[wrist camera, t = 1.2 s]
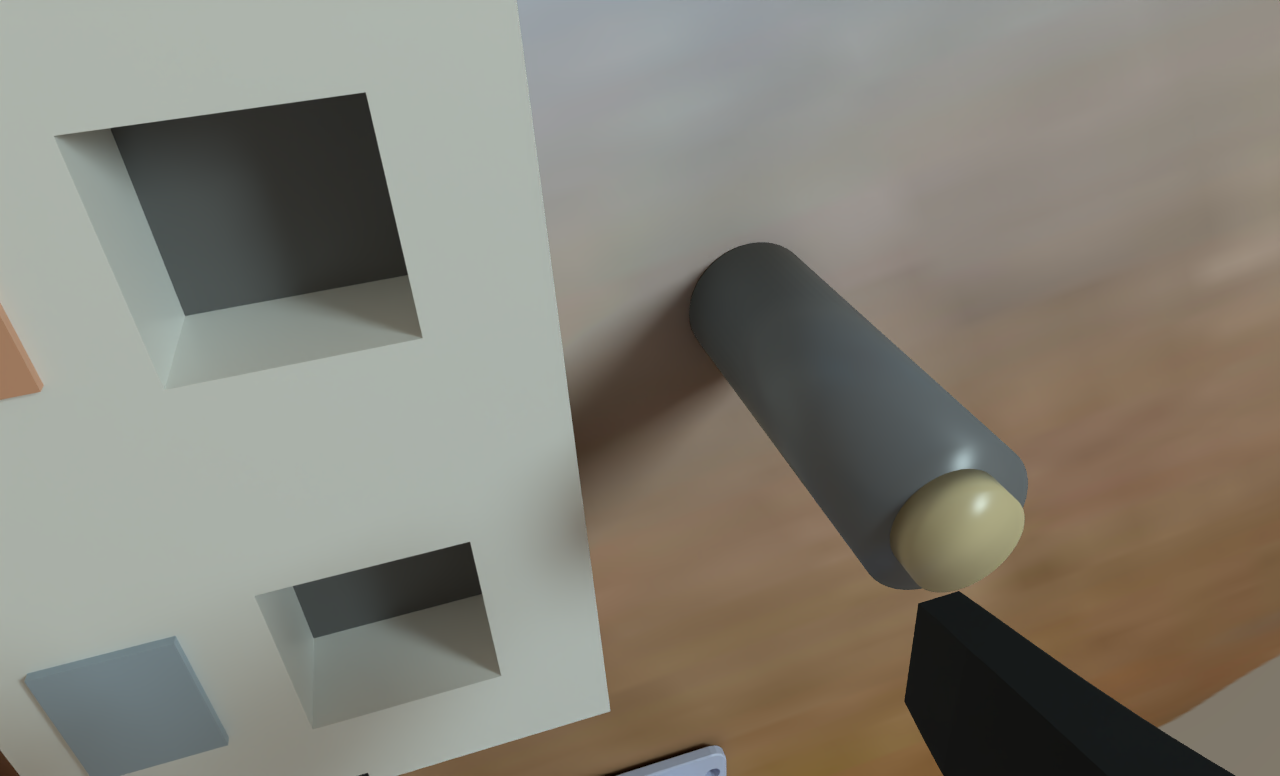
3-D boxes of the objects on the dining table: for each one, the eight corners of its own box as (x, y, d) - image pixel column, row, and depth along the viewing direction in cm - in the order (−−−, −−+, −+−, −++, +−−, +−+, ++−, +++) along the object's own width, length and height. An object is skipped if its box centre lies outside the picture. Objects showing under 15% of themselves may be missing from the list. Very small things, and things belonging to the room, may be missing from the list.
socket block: (581, 623, 25) (612, 717, 22) (115, 753, 22) (89, 876, 19) (471, -121, 15) (504, -109, 12) (-400, -39, 12) (-597, -3, 9)
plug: (806, 344, 22) (1033, 586, 15) (691, 370, 21) (873, 636, 14) (811, 231, 20) (1070, 444, 13) (687, 255, 19) (889, 492, 13)
